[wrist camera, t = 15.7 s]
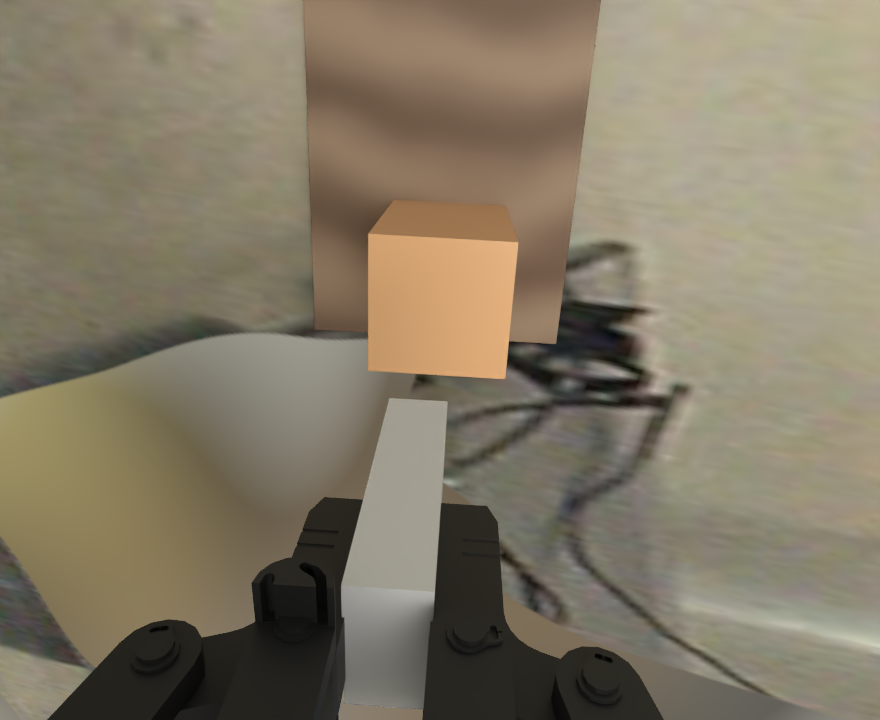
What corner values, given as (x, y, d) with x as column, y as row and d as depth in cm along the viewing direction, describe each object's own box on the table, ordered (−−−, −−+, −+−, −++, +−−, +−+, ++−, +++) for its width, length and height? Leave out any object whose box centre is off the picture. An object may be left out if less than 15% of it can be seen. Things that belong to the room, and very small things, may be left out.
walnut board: (304, -190, 30) (296, -204, 28) (618, -177, 29) (625, -191, 28) (320, 321, 40) (314, 329, 38) (552, 335, 39) (555, 343, 38)
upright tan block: (393, 199, 35) (368, 233, 26) (506, 206, 35) (518, 242, 26) (392, 306, 38) (368, 370, 29) (496, 312, 37) (504, 379, 29)
